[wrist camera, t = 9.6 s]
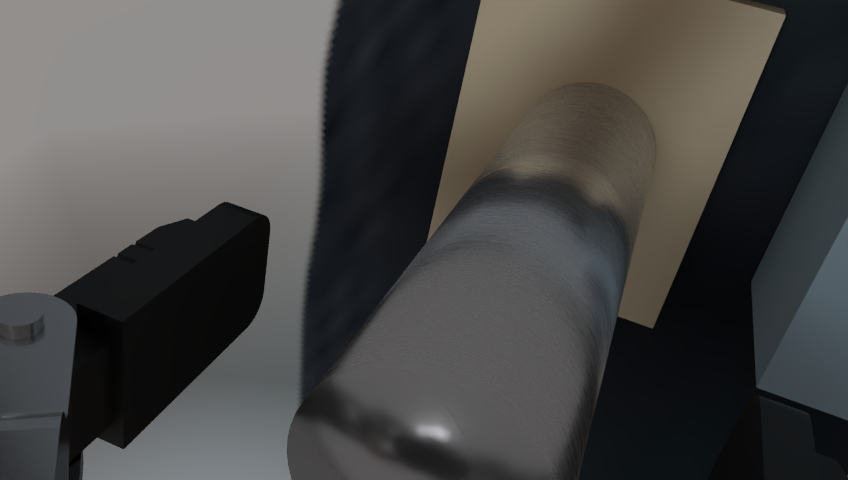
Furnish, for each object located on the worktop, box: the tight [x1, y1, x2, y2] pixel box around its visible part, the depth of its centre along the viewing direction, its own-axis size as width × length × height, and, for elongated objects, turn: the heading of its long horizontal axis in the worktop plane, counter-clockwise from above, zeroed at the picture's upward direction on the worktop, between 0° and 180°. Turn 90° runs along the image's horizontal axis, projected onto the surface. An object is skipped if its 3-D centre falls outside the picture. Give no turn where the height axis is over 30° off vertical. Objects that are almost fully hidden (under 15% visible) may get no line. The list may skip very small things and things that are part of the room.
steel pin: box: [287, 82, 656, 480], centre depth 15 cm, size 4×4×13 cm
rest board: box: [427, 0, 786, 328], centre depth 21 cm, size 7×9×1 cm
